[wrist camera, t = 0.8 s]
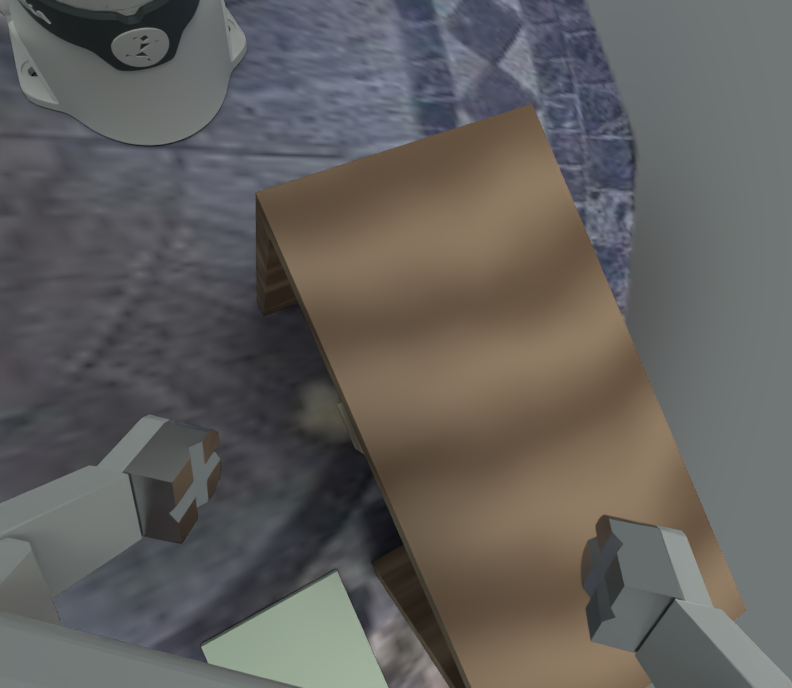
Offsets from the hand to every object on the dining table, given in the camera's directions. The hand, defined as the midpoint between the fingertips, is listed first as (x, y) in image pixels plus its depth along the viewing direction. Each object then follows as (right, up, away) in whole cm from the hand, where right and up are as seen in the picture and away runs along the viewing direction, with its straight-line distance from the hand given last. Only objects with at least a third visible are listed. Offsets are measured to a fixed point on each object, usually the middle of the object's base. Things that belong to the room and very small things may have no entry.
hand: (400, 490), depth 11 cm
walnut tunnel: (-1, -3, +37) cm, 37 cm away
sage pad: (-8, -25, +33) cm, 42 cm away
